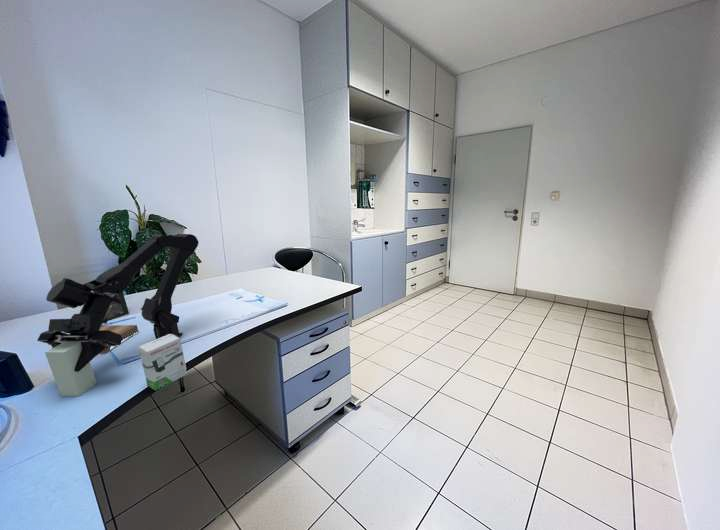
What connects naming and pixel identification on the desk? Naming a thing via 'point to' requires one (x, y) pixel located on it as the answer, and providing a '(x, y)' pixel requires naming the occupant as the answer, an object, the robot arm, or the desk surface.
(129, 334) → the walnut base board
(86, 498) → the desk surface
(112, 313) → the tampon box
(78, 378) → the sage block
